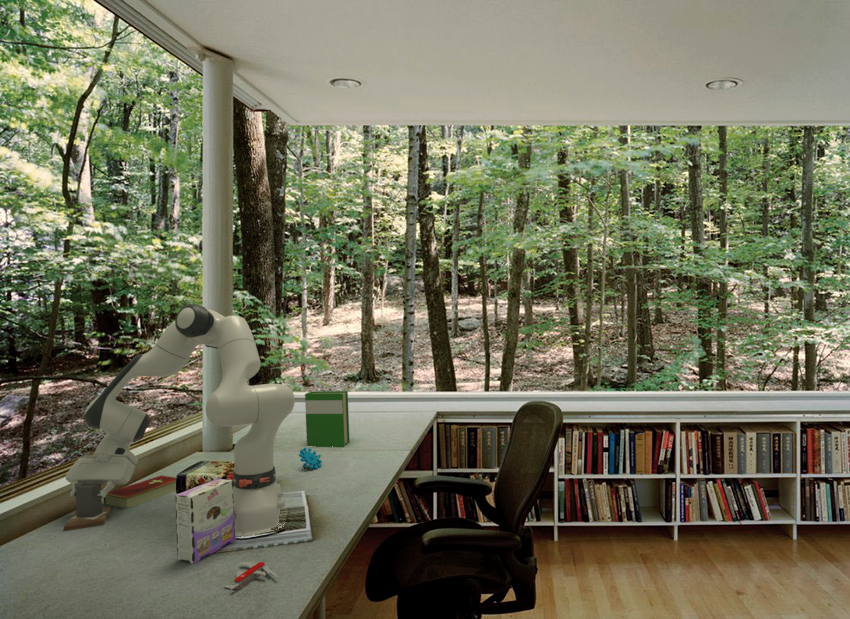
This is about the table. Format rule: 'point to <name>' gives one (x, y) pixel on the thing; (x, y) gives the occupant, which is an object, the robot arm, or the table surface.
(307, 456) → the gear
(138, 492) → the hardcover book
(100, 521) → the board
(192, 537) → the candy box
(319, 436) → the hardback book
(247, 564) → the swiss army knife
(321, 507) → the table surface
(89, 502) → the block
